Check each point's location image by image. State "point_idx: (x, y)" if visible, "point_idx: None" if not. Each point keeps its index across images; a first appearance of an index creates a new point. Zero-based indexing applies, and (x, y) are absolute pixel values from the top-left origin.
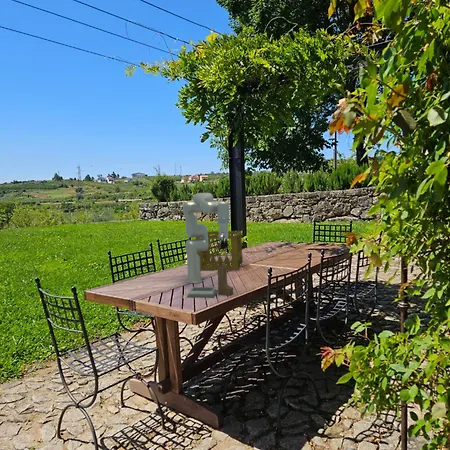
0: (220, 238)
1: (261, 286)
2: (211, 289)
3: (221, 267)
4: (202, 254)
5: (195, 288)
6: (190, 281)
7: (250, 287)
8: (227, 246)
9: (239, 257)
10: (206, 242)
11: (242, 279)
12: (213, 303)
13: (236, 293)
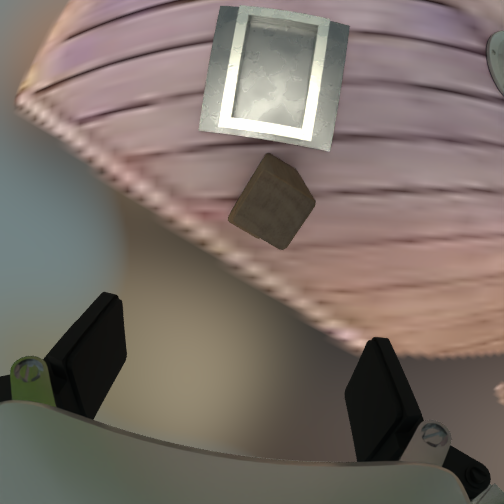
0: (277, 460)
1: None
2: (303, 117)
3: (240, 207)
4: None
5: (317, 32)
6: (496, 44)
7: (369, 309)
8: (345, 392)
9: None
10: None
11: (500, 281)
12: (113, 141)
13: None
